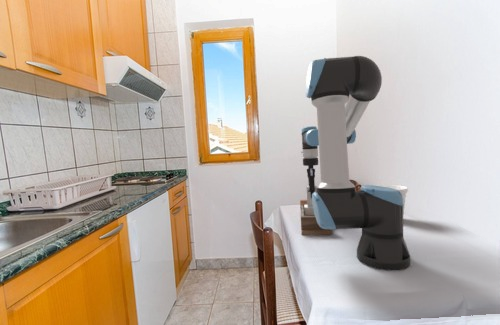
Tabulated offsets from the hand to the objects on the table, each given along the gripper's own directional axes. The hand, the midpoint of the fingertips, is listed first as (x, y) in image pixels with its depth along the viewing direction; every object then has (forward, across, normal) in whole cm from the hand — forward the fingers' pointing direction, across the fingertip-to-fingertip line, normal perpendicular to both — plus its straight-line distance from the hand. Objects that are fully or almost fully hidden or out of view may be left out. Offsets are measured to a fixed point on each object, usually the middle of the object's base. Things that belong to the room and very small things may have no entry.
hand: (312, 203), depth 130 cm
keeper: (+5, 0, 0) cm, 5 cm away
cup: (+7, +5, +36) cm, 37 cm away
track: (+7, +8, 0) cm, 11 cm away
